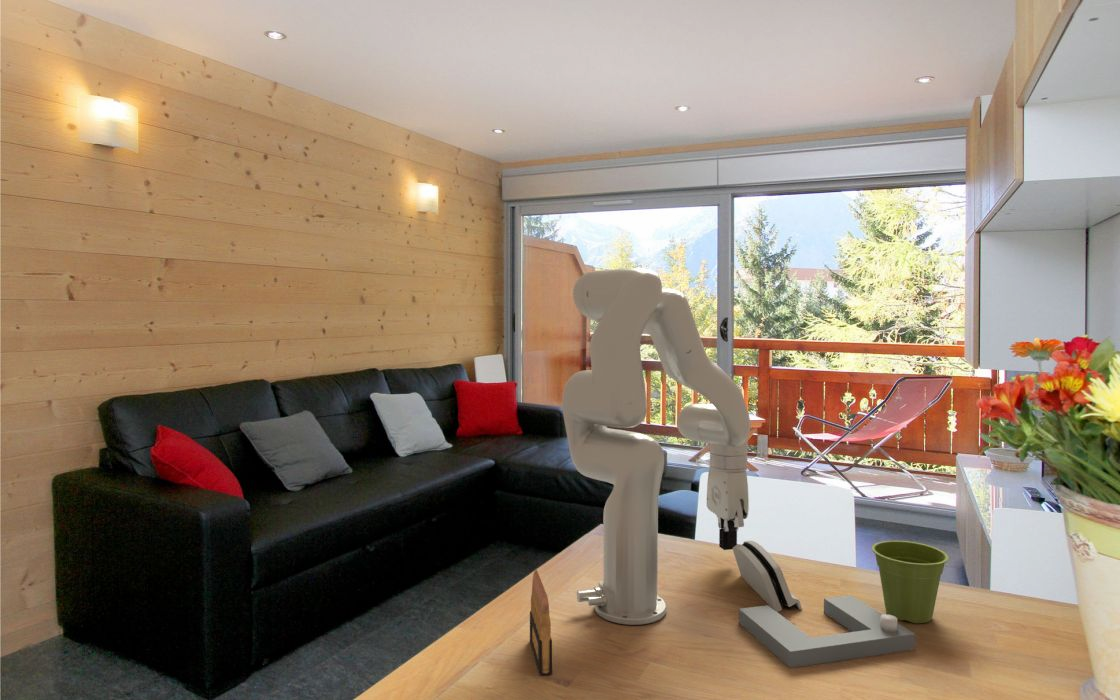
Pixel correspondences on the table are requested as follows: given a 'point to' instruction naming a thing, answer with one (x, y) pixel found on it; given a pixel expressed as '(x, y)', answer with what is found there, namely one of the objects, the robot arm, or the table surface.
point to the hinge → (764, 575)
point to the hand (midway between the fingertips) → (728, 547)
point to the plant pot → (909, 578)
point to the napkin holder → (540, 627)
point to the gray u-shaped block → (799, 649)
